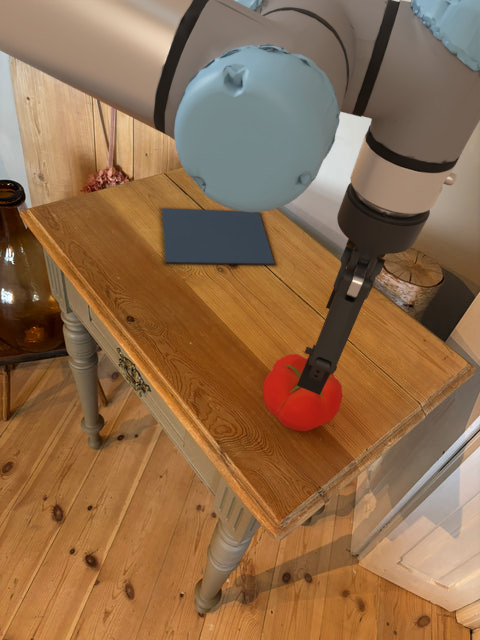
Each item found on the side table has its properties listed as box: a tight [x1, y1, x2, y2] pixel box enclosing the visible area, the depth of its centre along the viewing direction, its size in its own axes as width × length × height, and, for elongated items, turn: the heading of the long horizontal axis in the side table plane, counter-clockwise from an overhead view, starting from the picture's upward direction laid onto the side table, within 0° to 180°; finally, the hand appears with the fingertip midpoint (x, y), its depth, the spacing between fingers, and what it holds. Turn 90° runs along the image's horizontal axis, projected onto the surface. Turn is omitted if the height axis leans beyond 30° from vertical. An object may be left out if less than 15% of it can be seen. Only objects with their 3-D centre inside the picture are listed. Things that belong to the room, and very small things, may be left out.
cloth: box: [161, 207, 275, 266], centre depth 89 cm, size 20×16×1 cm
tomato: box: [262, 353, 344, 432], centre depth 63 cm, size 11×11×8 cm
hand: (323, 345), depth 56 cm, fingers open, 13 cm apart
